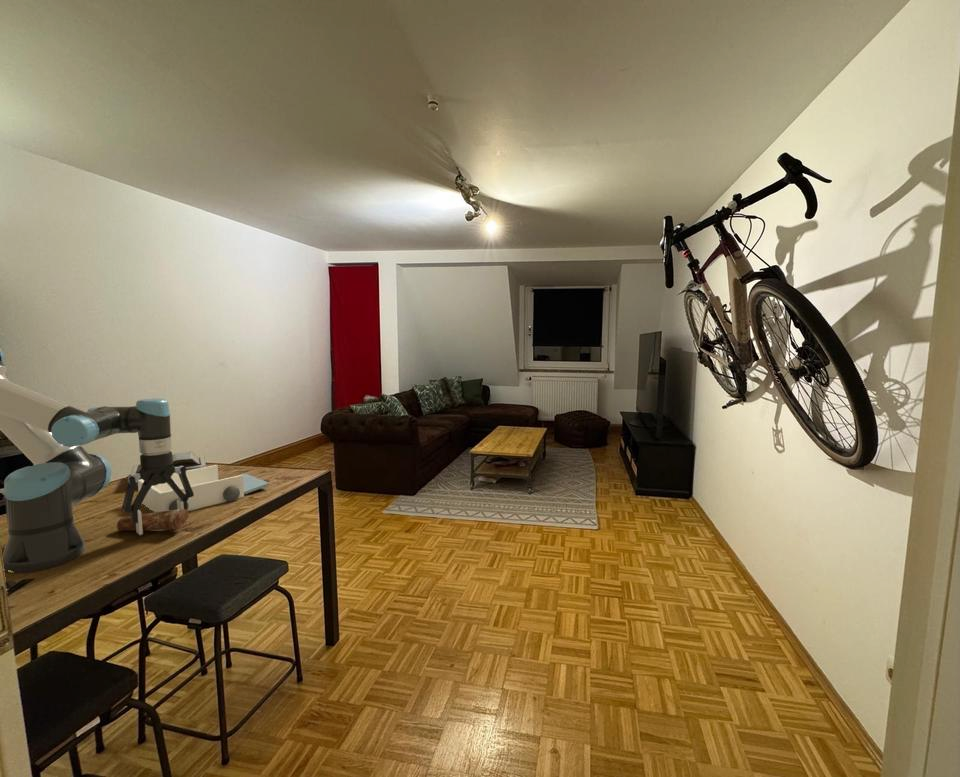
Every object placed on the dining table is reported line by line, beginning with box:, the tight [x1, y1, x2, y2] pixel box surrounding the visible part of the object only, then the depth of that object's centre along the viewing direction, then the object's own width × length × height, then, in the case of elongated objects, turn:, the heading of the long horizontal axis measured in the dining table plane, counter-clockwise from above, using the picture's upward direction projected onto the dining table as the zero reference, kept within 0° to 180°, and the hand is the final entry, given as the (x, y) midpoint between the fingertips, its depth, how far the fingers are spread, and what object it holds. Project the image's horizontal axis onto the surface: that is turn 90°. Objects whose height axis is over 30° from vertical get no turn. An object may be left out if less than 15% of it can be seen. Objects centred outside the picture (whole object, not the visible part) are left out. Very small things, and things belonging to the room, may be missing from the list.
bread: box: [116, 509, 189, 532], centre depth 128 cm, size 6×19×6 cm, turn 90°
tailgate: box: [237, 473, 270, 495], centre depth 168 cm, size 1×20×10 cm
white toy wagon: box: [137, 464, 245, 513], centre depth 154 cm, size 25×25×8 cm
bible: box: [129, 451, 207, 490], centre depth 176 cm, size 23×27×10 cm
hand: (161, 527), depth 129 cm, fingers closed on bread, 10 cm apart
